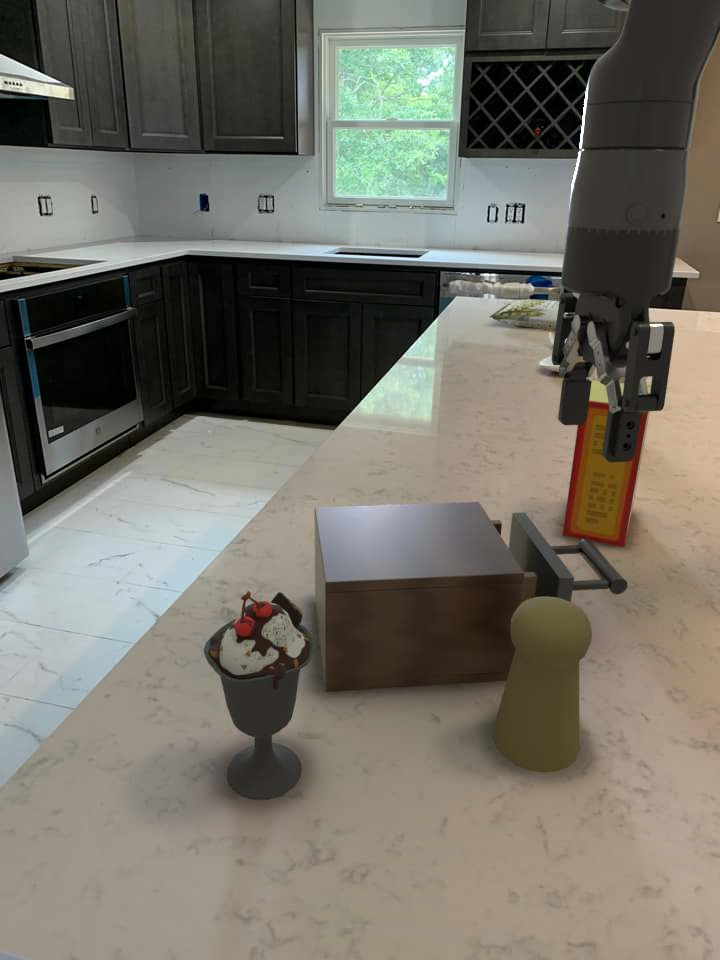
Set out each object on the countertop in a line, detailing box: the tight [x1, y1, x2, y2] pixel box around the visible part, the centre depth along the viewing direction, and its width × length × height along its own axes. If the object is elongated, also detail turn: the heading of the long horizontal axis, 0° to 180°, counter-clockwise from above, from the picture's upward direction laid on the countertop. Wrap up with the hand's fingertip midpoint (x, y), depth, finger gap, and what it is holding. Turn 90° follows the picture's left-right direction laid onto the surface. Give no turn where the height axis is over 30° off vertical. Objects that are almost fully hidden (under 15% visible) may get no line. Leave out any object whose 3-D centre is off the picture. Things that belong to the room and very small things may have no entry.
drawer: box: [490, 512, 629, 604], centre depth 62 cm, size 19×12×8 cm, turn 97°
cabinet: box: [314, 501, 525, 693], centre depth 61 cm, size 15×13×10 cm
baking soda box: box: [562, 378, 651, 548], centre depth 81 cm, size 10×6×16 cm
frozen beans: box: [489, 298, 559, 330], centre depth 195 cm, size 21×6×25 cm
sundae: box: [203, 590, 314, 801], centre depth 46 cm, size 7×7×15 cm
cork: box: [492, 596, 593, 773], centre depth 50 cm, size 6×6×11 cm
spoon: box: [538, 331, 567, 373], centre depth 158 cm, size 9×32×4 cm, turn 163°
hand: (592, 440), depth 57 cm, fingers open, 8 cm apart
